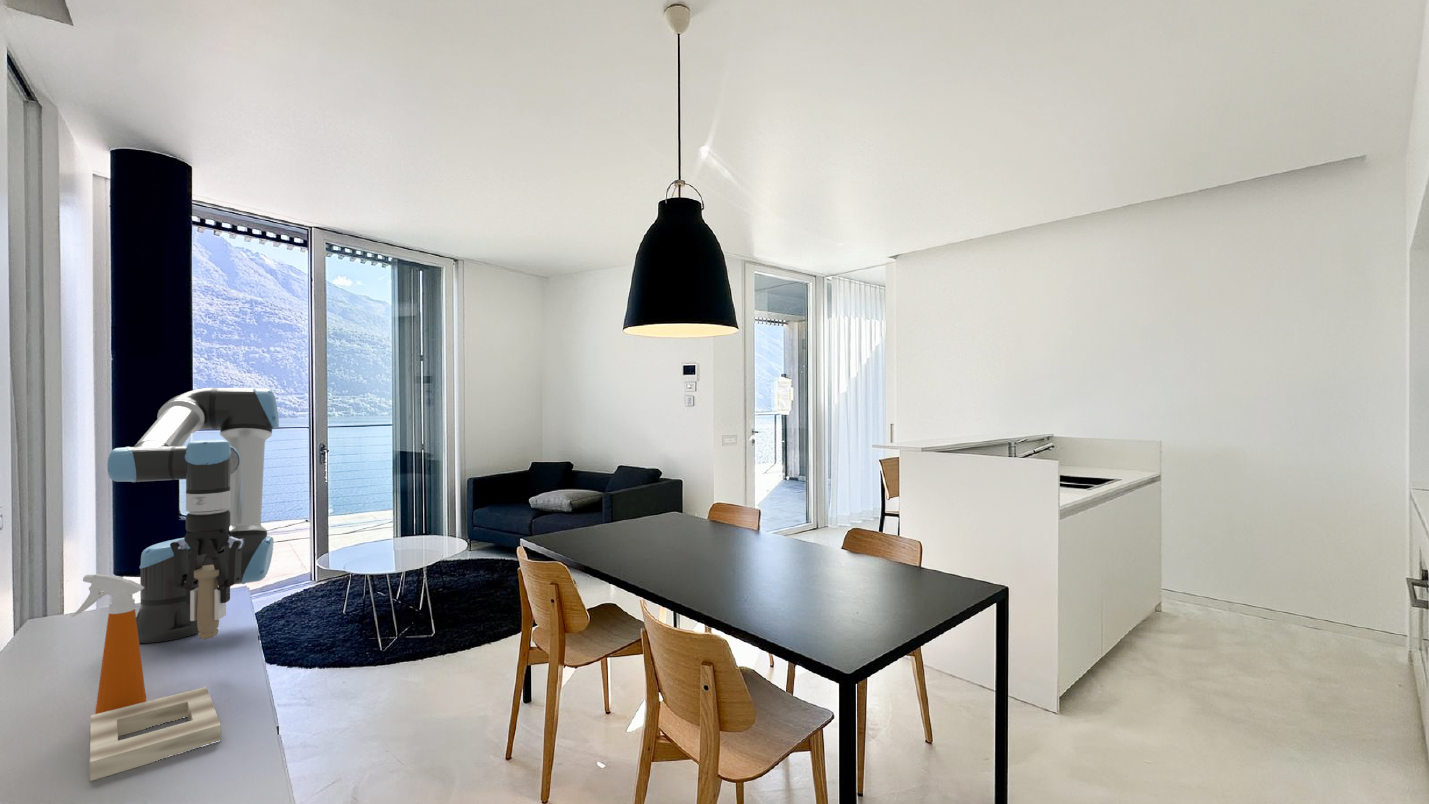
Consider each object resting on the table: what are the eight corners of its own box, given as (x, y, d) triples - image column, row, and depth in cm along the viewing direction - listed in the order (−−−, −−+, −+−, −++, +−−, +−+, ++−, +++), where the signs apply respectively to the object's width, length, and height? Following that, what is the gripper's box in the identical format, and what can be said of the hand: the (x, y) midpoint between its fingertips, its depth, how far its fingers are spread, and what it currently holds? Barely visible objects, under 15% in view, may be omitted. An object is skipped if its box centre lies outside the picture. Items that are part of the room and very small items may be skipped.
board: (90, 732, 110) (90, 715, 110) (206, 701, 121) (206, 686, 121) (89, 781, 96) (89, 761, 96) (220, 741, 107) (220, 724, 107)
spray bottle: (83, 707, 119) (84, 570, 119) (153, 698, 123) (154, 565, 123) (59, 725, 112) (60, 580, 112) (135, 715, 116) (135, 575, 116)
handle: (193, 644, 131) (194, 573, 130) (193, 634, 136) (193, 566, 135) (223, 638, 134) (223, 569, 133) (221, 629, 139) (222, 563, 138)
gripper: (151, 515, 129) (151, 626, 129) (242, 513, 132) (241, 622, 132) (175, 508, 136) (175, 613, 137) (261, 507, 139) (261, 610, 140)
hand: (208, 617), depth 135 cm, fingers closed on handle, 4 cm apart
